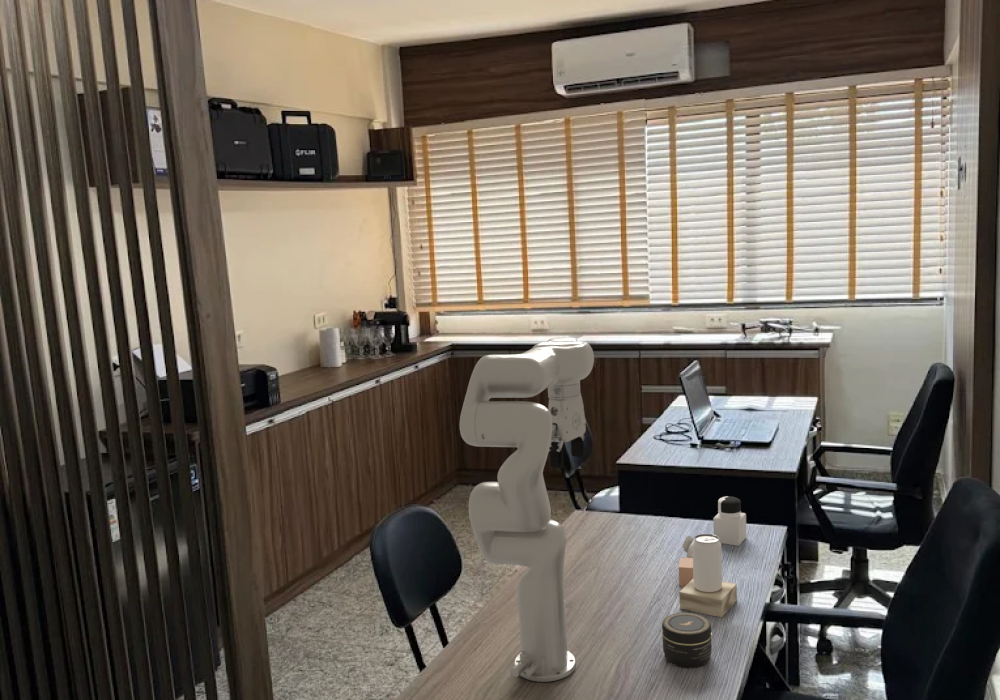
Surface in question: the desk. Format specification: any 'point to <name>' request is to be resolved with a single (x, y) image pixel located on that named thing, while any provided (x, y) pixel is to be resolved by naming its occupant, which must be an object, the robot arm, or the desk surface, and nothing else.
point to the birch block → (708, 599)
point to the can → (707, 563)
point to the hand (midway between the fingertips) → (567, 461)
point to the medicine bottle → (730, 521)
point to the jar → (687, 640)
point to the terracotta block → (685, 571)
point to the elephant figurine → (688, 546)
